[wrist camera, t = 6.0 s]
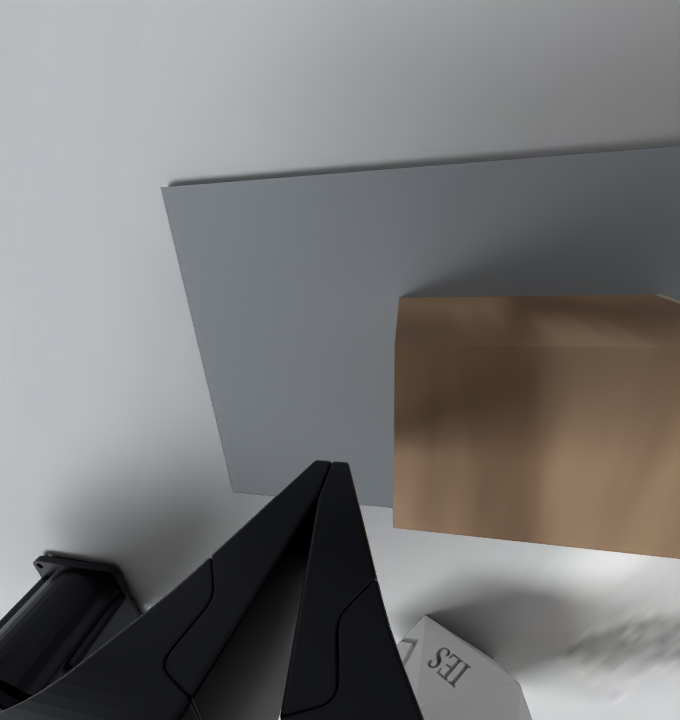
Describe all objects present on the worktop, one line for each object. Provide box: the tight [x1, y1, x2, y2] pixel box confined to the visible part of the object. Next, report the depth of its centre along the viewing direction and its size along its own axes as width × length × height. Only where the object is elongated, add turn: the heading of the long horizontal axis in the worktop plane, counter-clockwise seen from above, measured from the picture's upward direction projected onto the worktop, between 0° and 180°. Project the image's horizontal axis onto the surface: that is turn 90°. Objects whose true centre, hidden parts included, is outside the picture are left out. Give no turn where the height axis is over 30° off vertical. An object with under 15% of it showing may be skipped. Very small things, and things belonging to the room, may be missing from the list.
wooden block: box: [393, 294, 680, 559], centre depth 11 cm, size 4×6×8 cm
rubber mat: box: [161, 146, 680, 508], centre depth 13 cm, size 17×14×1 cm
